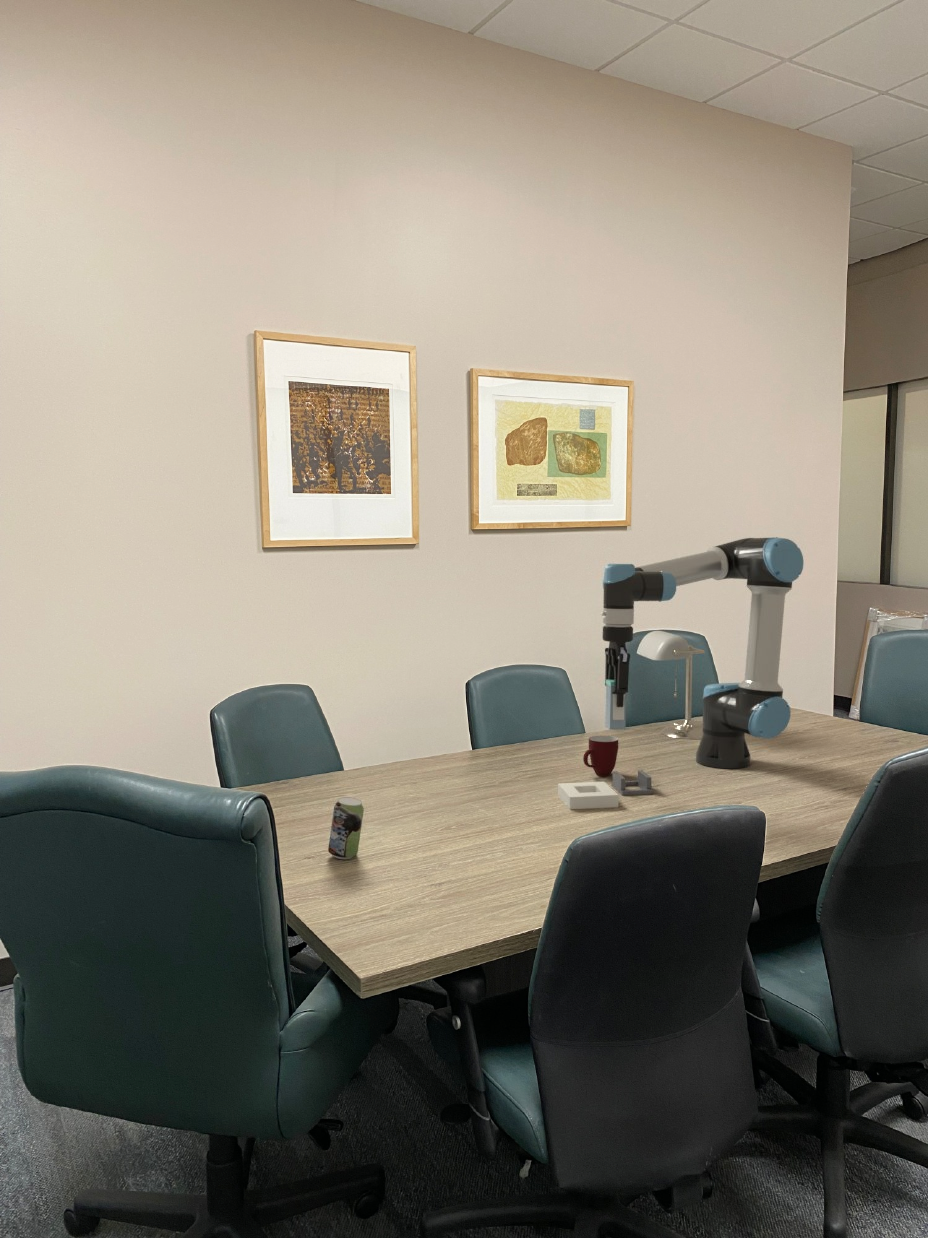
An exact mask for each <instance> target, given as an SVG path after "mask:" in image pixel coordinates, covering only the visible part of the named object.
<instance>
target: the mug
mask: <svg viewBox="0 0 928 1238" xmlns="http://www.w3.org/2000/svg"><path fill="white" fill-rule="evenodd" d="M618 753H619V738H618V737H617V736H612V735H592V736H590V737H588V749H587V750H585V752H584V755H583V759H582V760H583V763H584V765H585V767H587V768H592V769H593V771H594V774H595V775H596V776H600V777H607V776H608V777H609V776H611V775H612V774H613V772H614V769H615V768H616V764H617V757H618ZM589 759H590V763H589Z"/></svg>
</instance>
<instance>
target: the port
mask: <svg viewBox="0 0 928 1238" xmlns="http://www.w3.org/2000/svg"><path fill="white" fill-rule="evenodd" d="M557 796H558V797H559V799H560V800H561V801H562V802H563V803H564V804H565V805H566V807H567V808H568V809H569V810H583V809H584V810H588V809H605V808H606V809H607V808H609V809H610V808H619V794H618V793H617V792H616V791H615V790H614V789H612V788H611V787H610V785H608V784H607V783H606V782H605V781H589V782H583V781H582V782H568V783H567V782H566V783H563V782H562V783H557Z"/></svg>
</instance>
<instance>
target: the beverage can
mask: <svg viewBox="0 0 928 1238" xmlns="http://www.w3.org/2000/svg"><path fill="white" fill-rule="evenodd" d="M364 811H365V809H364V805H363V802H362V800H360V799H358V798H355V797H350V796H346V797H345V796H343V797H339V798H337V802H335V803H334V805H333V812H332V819H331V826H330V827H331V828H330V834H329V835H330V836H329V841H328V848H327V851H328V853H329V854H331V856H332V857H333V858H336V859H339V860H350V859H352V858H353V857H356V855H358V853H359V845H360V839H361V833H362V825H363V817H364Z"/></svg>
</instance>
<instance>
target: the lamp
mask: <svg viewBox="0 0 928 1238" xmlns="http://www.w3.org/2000/svg"><path fill="white" fill-rule="evenodd" d="M705 652H706V651H705V650H703V649H700V648H697V647H693V645H692V644H688V641H687V640H686V639H685V638H684V637H682V636H681V635H677V634H674V633H671V632H666V631H664V630H654V631H650V632H648V633H647V634H646V635H644V636H643V638H642V639H641V641H640V643H639V645H638V648H637V651H636V654H638V655H639V656H642V657H644V658H646V659H650V660H651V661H671V660H672V661H673V660H674V661H675V674H677V673H678V672H677V669H678V668H677V666H678V665H677V662H678V660H685V714H684V715H685V717H684V719H678V720H674V721H673V722H672V723H671V724H669V725H667V726H665V727H664V728H662V729H661V731H660V734H661V735H663V736H666V737H668V738H672V739H673V738H674V739H675V738H676V739H681V740H701V738H702V735H703V721H699V720H695V719H692V701H693V700H692V697H693V696H692V695H693V694H692V692H693V690H692V689H693V688H692V687H693V655H696V654H697V655H703V654H705ZM674 685H675V686H674V687H675V688H674V689H675V690H677V680H675V684H674ZM673 697H674V698H677V697H678V693H674V694H673Z"/></svg>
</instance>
